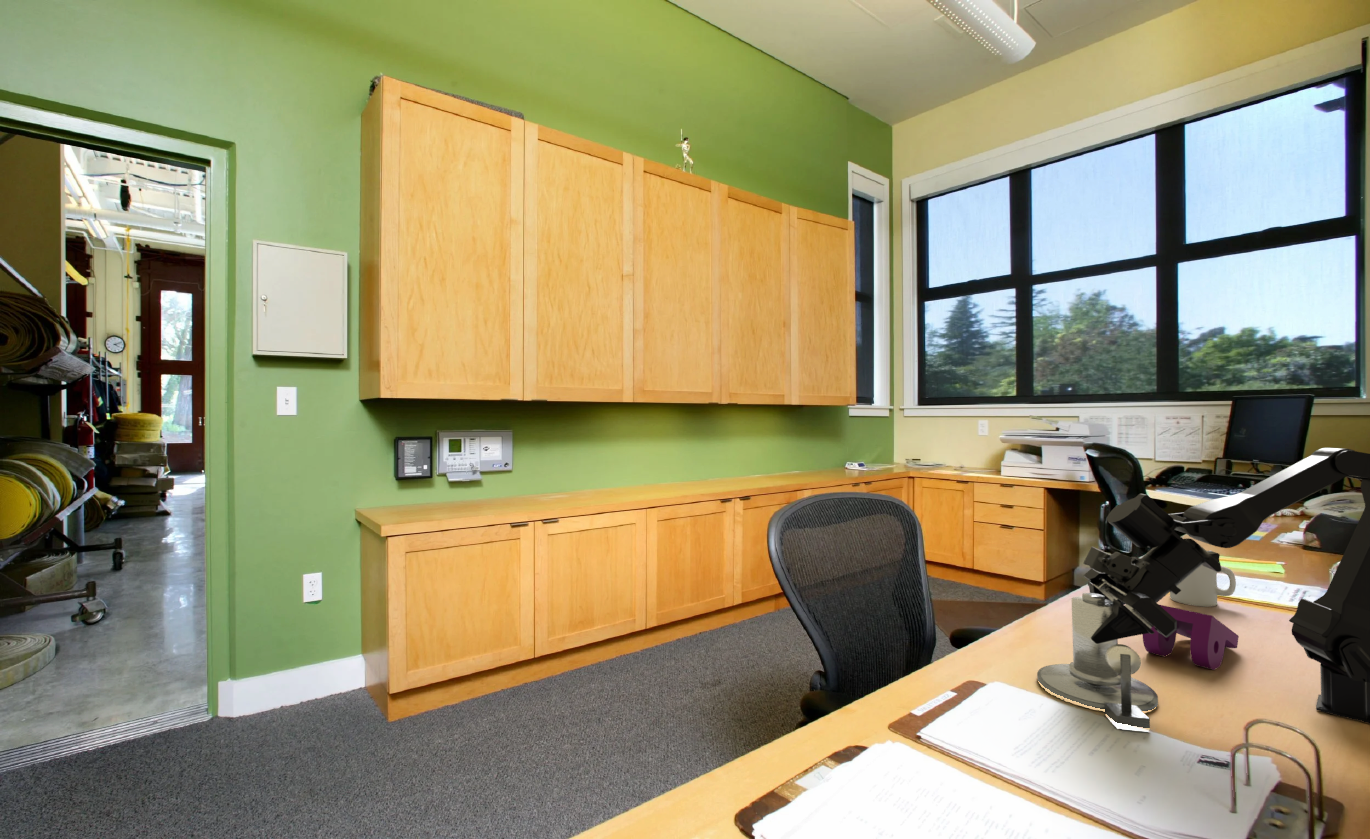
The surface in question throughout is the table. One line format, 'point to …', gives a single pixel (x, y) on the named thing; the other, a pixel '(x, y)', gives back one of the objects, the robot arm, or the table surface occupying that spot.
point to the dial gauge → (1125, 686)
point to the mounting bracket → (1194, 637)
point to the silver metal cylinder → (1091, 641)
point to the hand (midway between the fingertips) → (1085, 634)
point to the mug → (1203, 587)
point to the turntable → (1093, 689)
